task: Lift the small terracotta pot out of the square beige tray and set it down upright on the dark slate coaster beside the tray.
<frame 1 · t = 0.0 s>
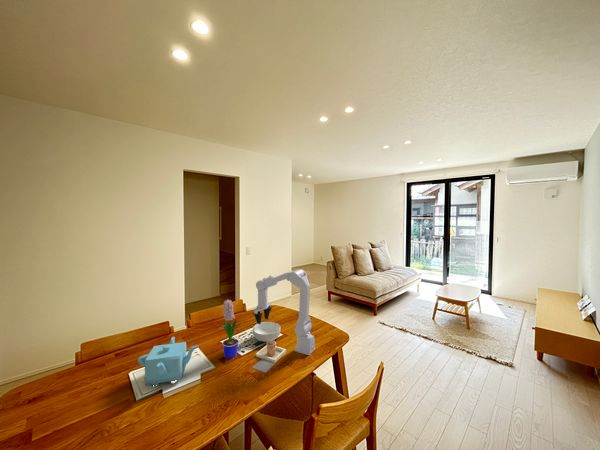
hand: (262, 321, 143), 10 cm above the table, fingers open, 7 cm apart
teakettle: (169, 377, 107), on the table
cereal bowl: (266, 339, 142), on the table
square beige tray: (271, 354, 125), on the table
hyacinth: (231, 356, 124), on the table
pot: (271, 348, 125), in the square beige tray
coaster: (263, 366, 115), on the table
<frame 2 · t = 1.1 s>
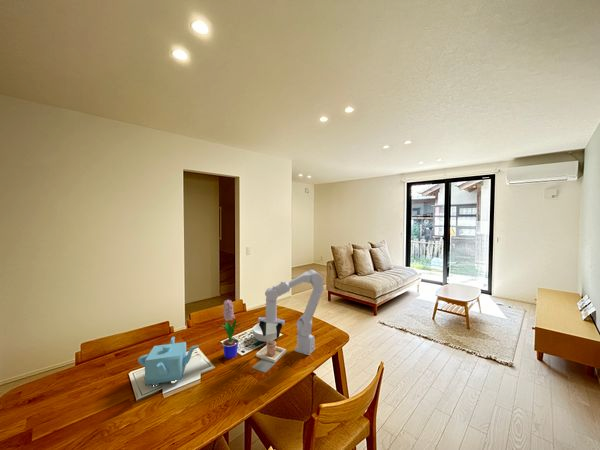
hand: (271, 336, 125), 10 cm above the table, fingers open, 7 cm apart
nothing on the table moved.
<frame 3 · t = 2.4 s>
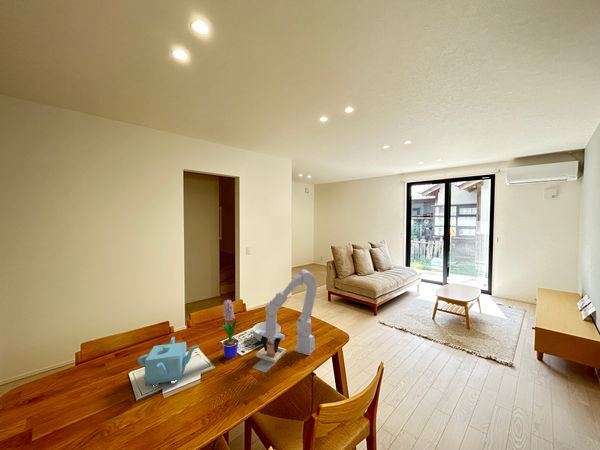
hand: (271, 351, 125), 2 cm above the table, fingers closed on pot, 5 cm apart
pot: (271, 348, 125), in the square beige tray, touching gripper
everything else where it was.
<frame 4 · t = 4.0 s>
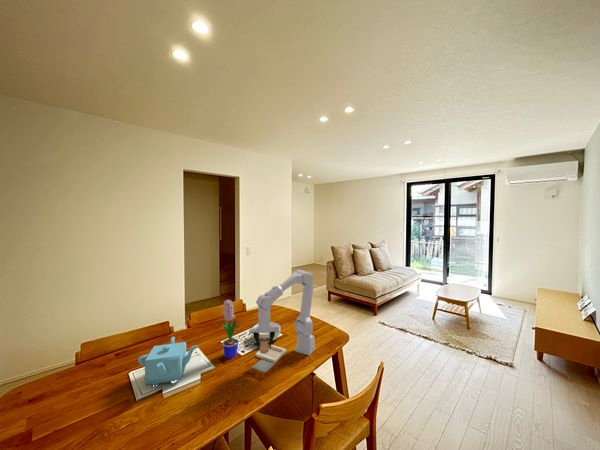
hand: (264, 347, 116), 9 cm above the table, fingers closed on pot, 5 cm apart
pot: (264, 344, 116), point 10 cm above the table, touching gripper
everything else where it was.
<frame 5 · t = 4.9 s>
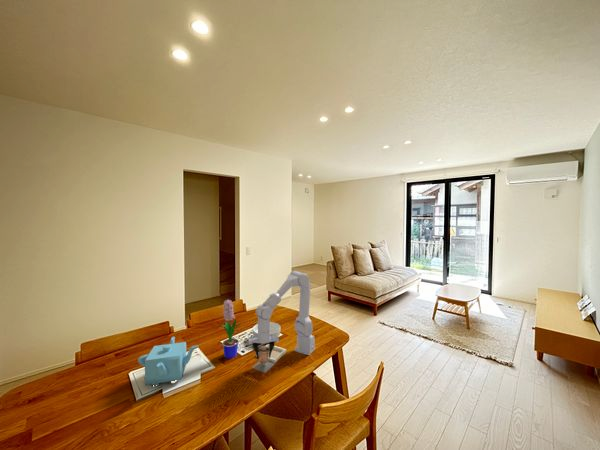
hand: (263, 357, 115), 5 cm above the table, fingers closed on pot, 5 cm apart
pot: (263, 354, 116), point 6 cm above the table, touching gripper
everything else where it was.
when the fingers open (4 cm above the table, at t = 5.6 s): pot drops 1 cm, resting on coaster.
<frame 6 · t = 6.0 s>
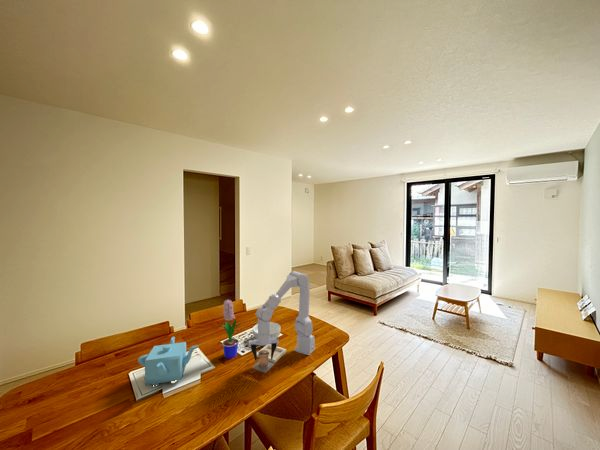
hand: (263, 358, 115), 4 cm above the table, fingers open, 7 cm apart
pot: (263, 358, 116), on the coaster, point 4 cm above the table
everything else where it was.
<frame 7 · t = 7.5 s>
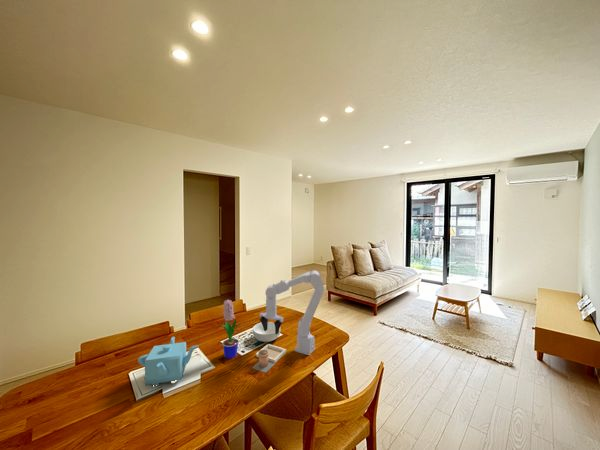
hand: (271, 331, 130), 10 cm above the table, fingers open, 7 cm apart
nothing on the table moved.
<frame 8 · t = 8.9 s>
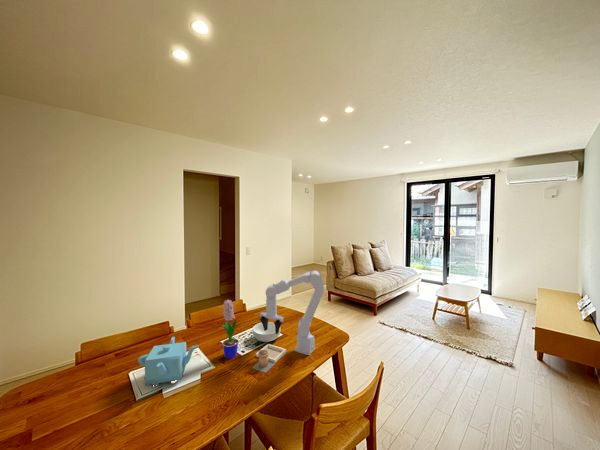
hand: (271, 331, 130), 10 cm above the table, fingers open, 7 cm apart
nothing on the table moved.
at the end: pot inside the target area on the coaster (0.8 cm from its centre), point 3.7 cm above the coaster's base; pot tilted 1°; the gripper is holding nothing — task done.
